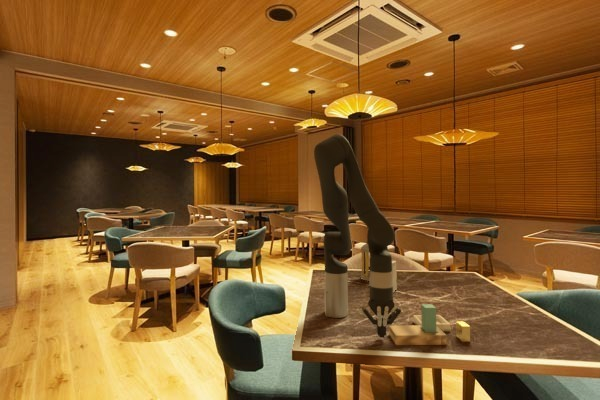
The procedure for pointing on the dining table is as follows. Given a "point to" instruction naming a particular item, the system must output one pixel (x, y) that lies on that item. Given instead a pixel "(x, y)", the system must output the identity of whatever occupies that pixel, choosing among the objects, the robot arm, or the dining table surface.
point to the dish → (440, 322)
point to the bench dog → (463, 331)
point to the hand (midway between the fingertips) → (381, 336)
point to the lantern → (365, 262)
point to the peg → (428, 318)
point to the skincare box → (394, 276)
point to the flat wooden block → (416, 335)
